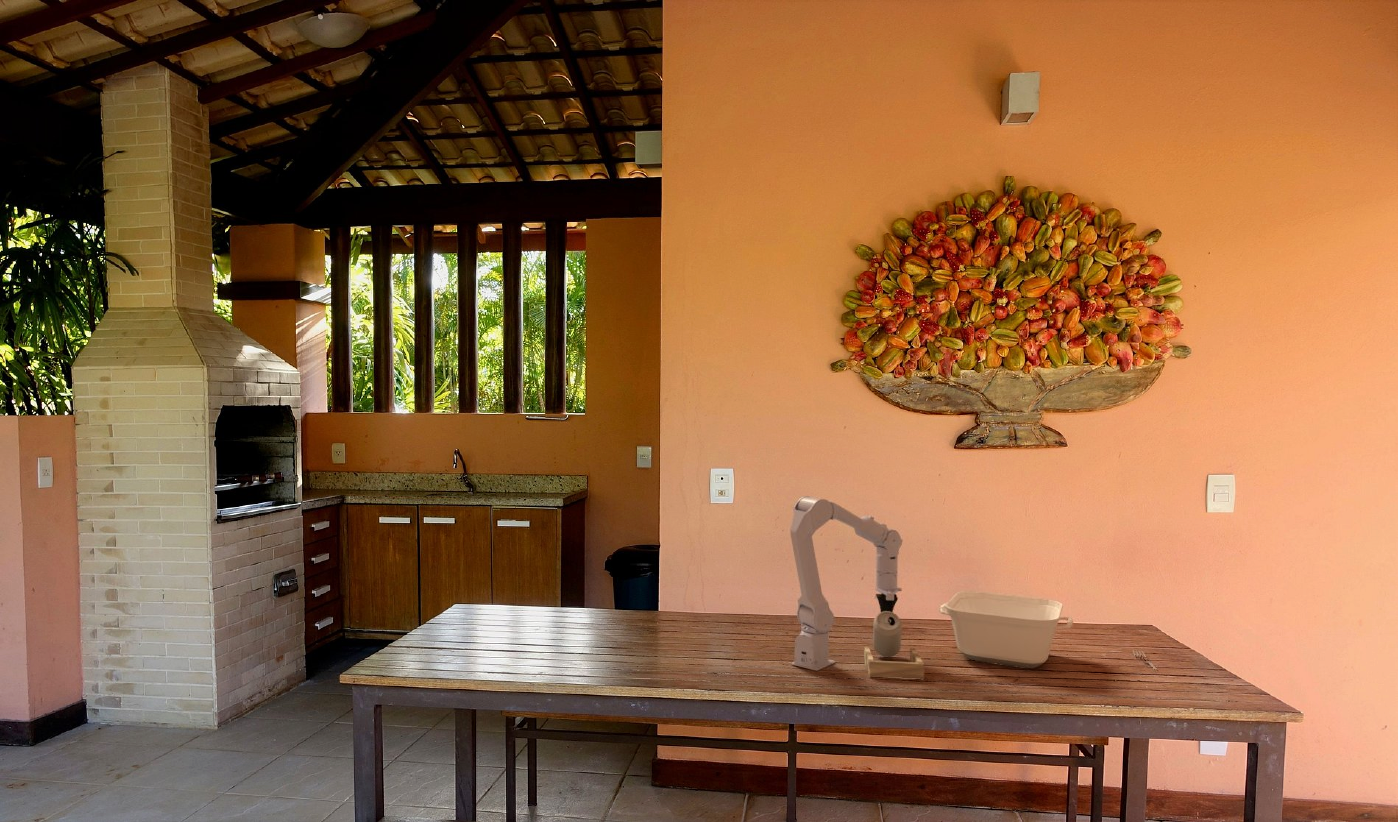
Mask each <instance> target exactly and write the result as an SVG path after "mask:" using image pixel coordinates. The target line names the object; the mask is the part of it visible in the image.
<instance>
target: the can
mask: <svg viewBox="0 0 1398 822" xmlns="http://www.w3.org/2000/svg"><path fill="white" fill-rule="evenodd" d="M872 624H873V626H872V627H873V628H872V630H873V631H872V648H873V649H874V651H875V653H877V655H879V656H881V657H885V658H891V657H895V656H897V655H898V654H899V653H900V650H901V647H902V645H901V644H902V631H903V630H902V629H903V623H902V621H901V618H899V616H898V615H897V614H896V613H895V612H894V611H893V612H890V611H884V612H881V611H880V612H878V613H877V615H876V616H875V617H874V618H873V623H872Z"/></svg>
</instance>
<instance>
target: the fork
mask: <svg viewBox="0 0 1398 822" xmlns="http://www.w3.org/2000/svg"><path fill="white" fill-rule="evenodd" d="M1138 652H1139V653H1138ZM1132 653H1133V655H1134V656H1135V655H1136V656H1138V655H1139V656H1141V655H1142V656H1143V657H1144V658H1145V657H1147V656H1146V654H1145V653H1144V651H1143V650H1141V651H1140V650H1138V651H1137V650H1132ZM1145 662H1146V663H1145V664H1149V666H1151V668H1152V667H1153V668H1152V669H1153V670H1154V669H1158V668H1157V667H1156V666H1155V665H1154V664H1153V663H1152V662H1150V661H1145Z"/></svg>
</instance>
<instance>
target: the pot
mask: <svg viewBox="0 0 1398 822" xmlns="http://www.w3.org/2000/svg"><path fill="white" fill-rule="evenodd" d="M1063 607H1064V604H1063V603H1062V602H1060V601H1058V600H1054V599H1049V598H1043V597H1033V596H1026V595H1016V594H1008V593H1007V594H1005V593H997V592H995V593H994V592H986V591H978V590H977V591H976V590H963V591H958V592H956V593H955V594H954V595H953V596H952V597H951V598H950V600H948V601H947V602H944V603H943V604H942V605H940V607H939V613H940V614H942V615H947V616H949V617H950V619H951V624H952V629H953V633H954V639H955V644H956V647H957V650H958V651H959V652H960V653H961V654H962V655H963V656H964V657H965V658H967V659H969V660H970V659H971V661H973V660H975V661H974V662H978V661H983V662H982V663H985V662H988V663H987V664H992V663H997V664H996V665H998V664H1002V665H1001V666H1005V665H1008V667H1012V666H1017V667H1016V668H1019V667H1023V668H1022V669H1026V668H1031V669H1035V668H1038V667H1040V666H1042V665H1043V664H1044V663H1045V662H1047V660H1048V658H1049V654H1050V651H1051V648H1052V643H1053V639H1054V637H1055V632H1056V631H1057V630H1058V629H1059V630H1060V629H1063V630H1066V629H1071V628H1072V627H1073V624H1074V620H1073V618H1072V617H1069V616H1062V617H1061V615H1062V610H1063ZM1059 621H1067V623H1066V625H1059V626H1058V624H1059ZM1031 669H1030V670H1031Z"/></svg>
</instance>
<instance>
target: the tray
mask: <svg viewBox="0 0 1398 822" xmlns="http://www.w3.org/2000/svg"><path fill="white" fill-rule="evenodd" d="M909 652H910V653H909V657H910V658H909V659H910V661H892V660H891V661H889V660H874V657H873V654H872V653H871V650H870V647H869V646H865V645H864V646H863V663H864V662H865V663H864V666H865V665H866V666H865V669H866V668H867V669H866V672H867V671H868V672H867V674H869V675H868V677H902V678H920V679H924V680H925V663H924V662H923V660H922V658H921V656H920V655H919V653H918V651H917V650H916V648H914V647H913V648H911V647H910V649H909Z"/></svg>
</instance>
